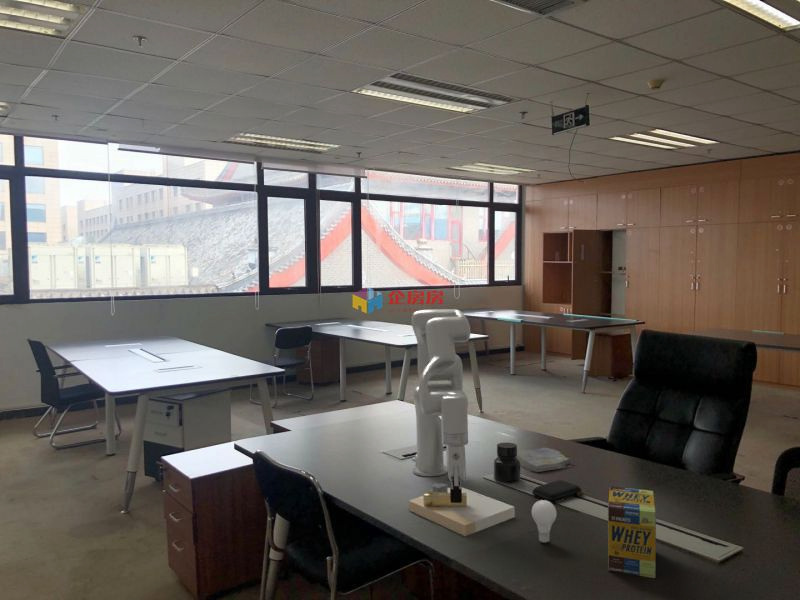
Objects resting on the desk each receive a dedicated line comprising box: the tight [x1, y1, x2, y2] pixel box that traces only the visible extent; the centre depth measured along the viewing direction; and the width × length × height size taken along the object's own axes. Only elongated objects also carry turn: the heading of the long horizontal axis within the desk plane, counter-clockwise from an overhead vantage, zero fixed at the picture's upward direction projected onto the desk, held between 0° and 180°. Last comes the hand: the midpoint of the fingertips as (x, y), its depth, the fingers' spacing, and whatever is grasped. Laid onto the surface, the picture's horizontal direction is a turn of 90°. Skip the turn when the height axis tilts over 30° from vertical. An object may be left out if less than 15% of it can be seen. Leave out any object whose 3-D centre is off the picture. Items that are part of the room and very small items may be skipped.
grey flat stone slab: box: [516, 446, 573, 473], centre depth 223 cm, size 20×5×17 cm
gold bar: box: [422, 491, 467, 506], centre depth 175 cm, size 13×3×3 cm, turn 86°
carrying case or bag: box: [531, 479, 582, 503], centre depth 190 cm, size 11×3×15 cm
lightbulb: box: [531, 499, 558, 544], centre depth 156 cm, size 6×6×11 cm
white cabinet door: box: [407, 482, 516, 537], centre depth 176 cm, size 24×20×6 cm
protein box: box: [607, 485, 657, 579], centre depth 145 cm, size 10×15×16 cm
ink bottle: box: [493, 442, 521, 484], centre depth 205 cm, size 10×9×12 cm
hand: (456, 501), depth 172 cm, fingers closed
